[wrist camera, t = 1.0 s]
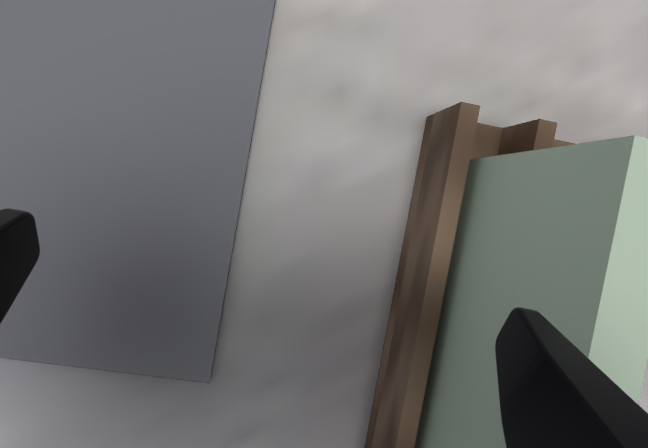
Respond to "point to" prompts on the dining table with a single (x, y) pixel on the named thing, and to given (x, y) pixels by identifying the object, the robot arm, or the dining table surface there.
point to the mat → (127, 174)
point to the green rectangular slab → (541, 276)
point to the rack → (434, 259)
